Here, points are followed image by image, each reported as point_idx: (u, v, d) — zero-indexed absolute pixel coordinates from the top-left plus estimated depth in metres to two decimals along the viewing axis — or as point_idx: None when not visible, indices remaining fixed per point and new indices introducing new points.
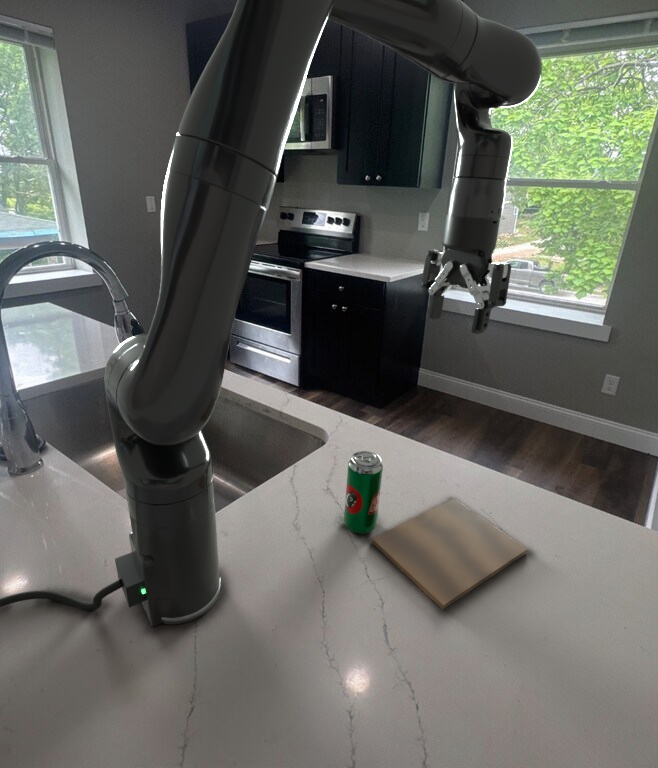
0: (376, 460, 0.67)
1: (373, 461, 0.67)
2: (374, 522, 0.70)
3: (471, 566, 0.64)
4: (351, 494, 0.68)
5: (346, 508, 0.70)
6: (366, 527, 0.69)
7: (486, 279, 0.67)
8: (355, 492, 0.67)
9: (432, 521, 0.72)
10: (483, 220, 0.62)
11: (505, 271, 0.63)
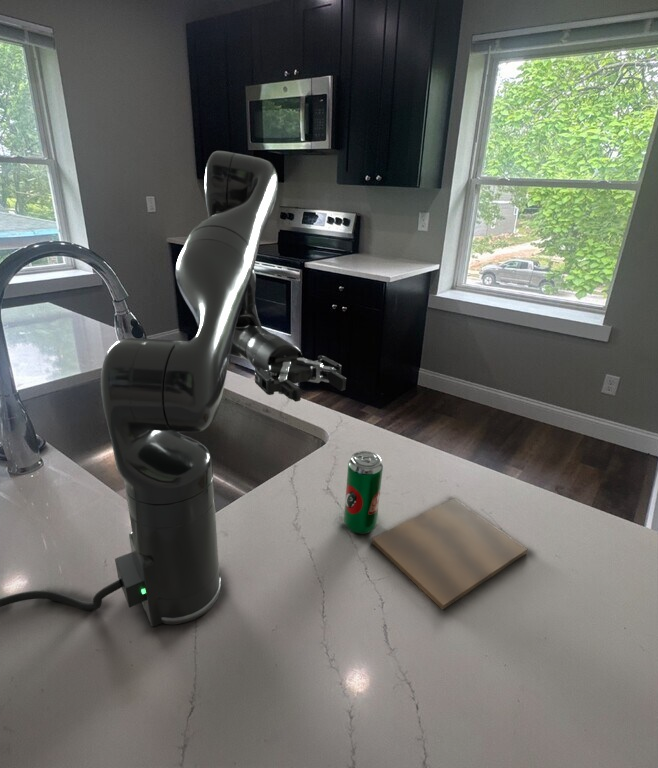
0: (376, 460, 0.67)
1: (373, 461, 0.67)
2: (374, 522, 0.70)
3: (471, 566, 0.64)
4: (351, 494, 0.68)
5: (346, 508, 0.70)
6: (366, 527, 0.69)
7: None
8: (355, 492, 0.67)
9: (432, 521, 0.72)
10: None
11: None
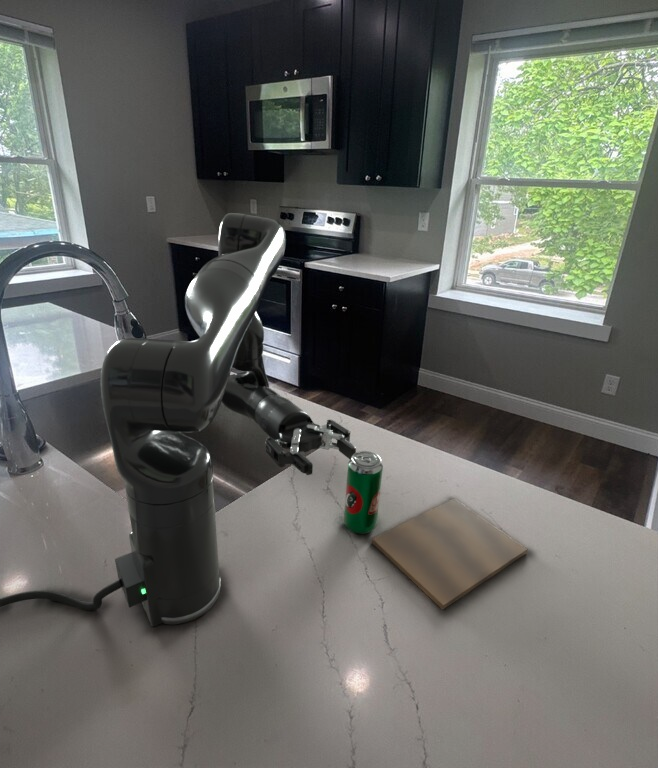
0: (376, 460, 0.67)
1: (373, 461, 0.67)
2: (374, 522, 0.70)
3: (471, 566, 0.64)
4: (351, 494, 0.68)
5: (346, 508, 0.70)
6: (366, 527, 0.69)
7: (322, 443, 0.83)
8: (355, 492, 0.67)
9: (432, 521, 0.72)
10: None
11: None
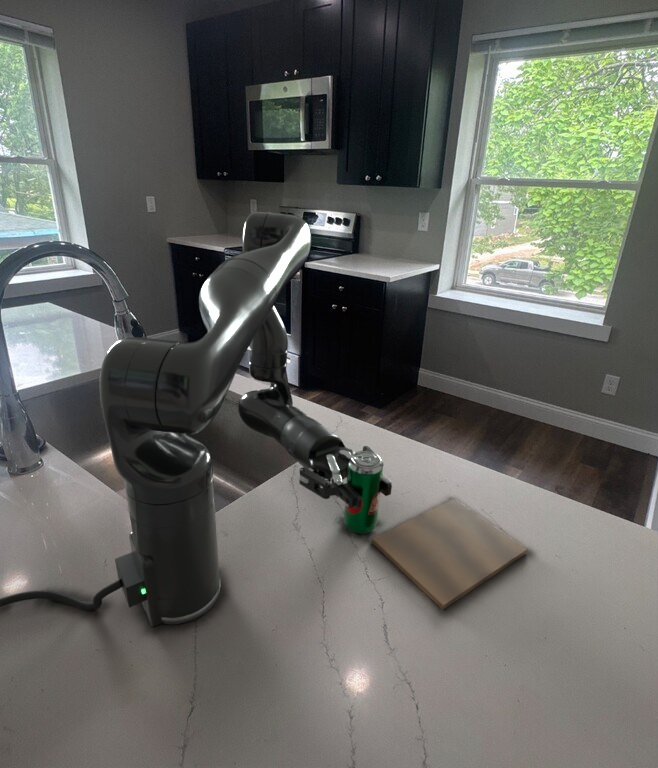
0: (376, 460, 0.67)
1: (373, 461, 0.67)
2: (374, 522, 0.70)
3: (471, 566, 0.64)
4: None
5: (346, 508, 0.70)
6: (366, 527, 0.69)
7: None
8: None
9: (432, 521, 0.72)
10: None
11: None
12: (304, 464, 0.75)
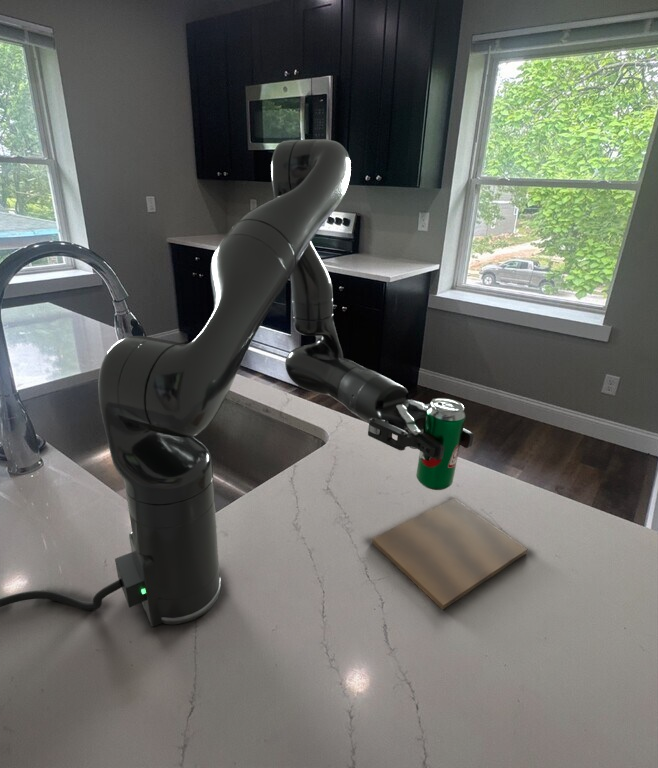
0: (459, 406, 0.60)
1: (455, 408, 0.60)
2: (452, 477, 0.63)
3: (471, 566, 0.64)
4: None
5: (421, 462, 0.63)
6: (444, 483, 0.63)
7: None
8: None
9: (432, 521, 0.72)
10: None
11: None
12: (369, 417, 0.69)
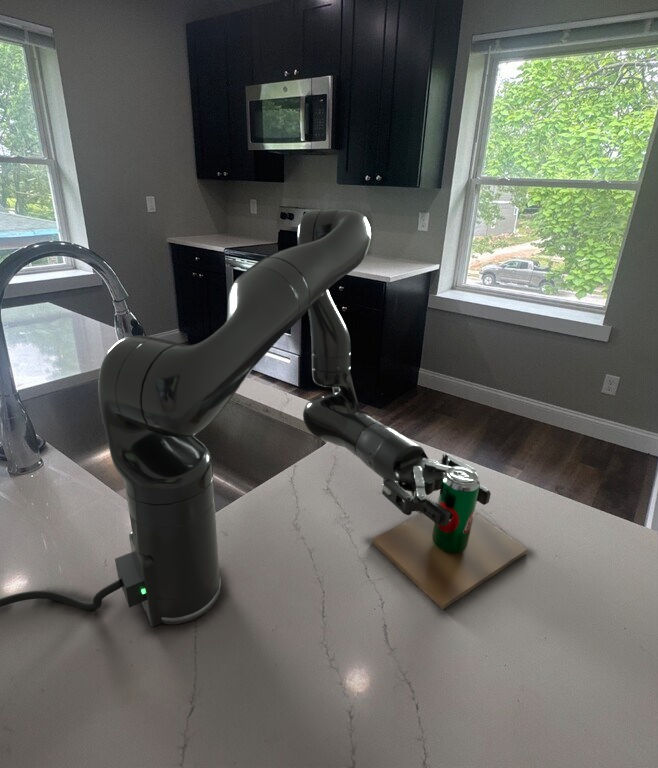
0: (474, 476, 0.63)
1: (470, 477, 0.63)
2: (467, 541, 0.66)
3: (471, 566, 0.64)
4: None
5: (438, 526, 0.66)
6: (459, 547, 0.65)
7: None
8: (451, 509, 0.63)
9: (432, 521, 0.72)
10: None
11: None
12: (387, 476, 0.71)
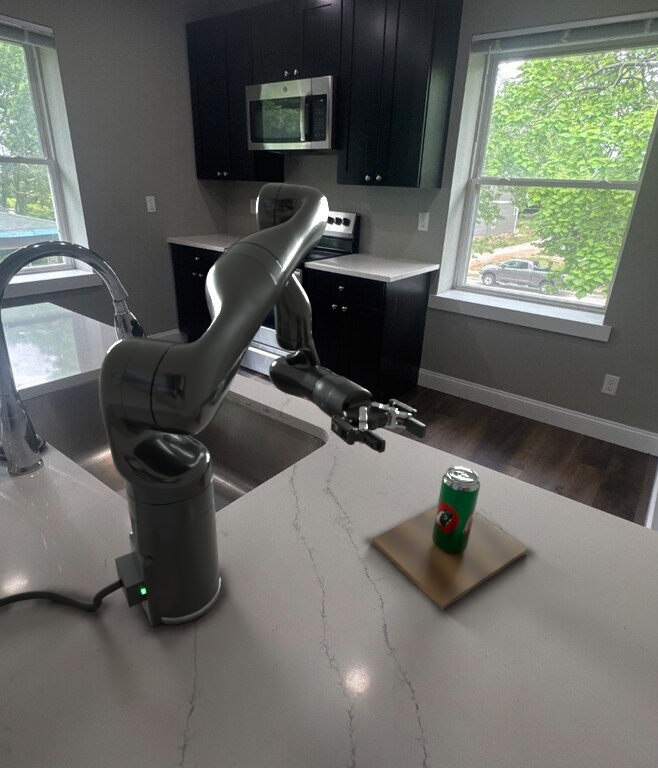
0: (474, 476, 0.63)
1: (470, 477, 0.63)
2: (467, 541, 0.66)
3: (471, 566, 0.64)
4: (446, 512, 0.64)
5: (438, 526, 0.66)
6: (459, 547, 0.65)
7: (386, 422, 0.79)
8: (451, 510, 0.63)
9: (432, 521, 0.72)
10: None
11: None
12: None
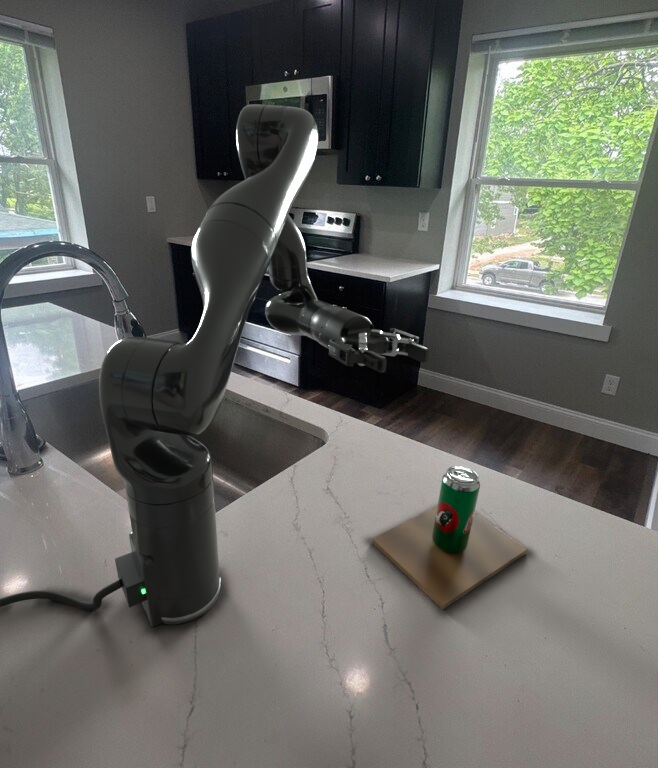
0: (474, 476, 0.63)
1: (470, 477, 0.63)
2: (467, 541, 0.66)
3: (471, 566, 0.64)
4: (446, 512, 0.64)
5: (438, 526, 0.66)
6: (459, 547, 0.65)
7: (387, 351, 0.76)
8: (451, 510, 0.63)
9: (432, 521, 0.72)
10: None
11: None
12: None
